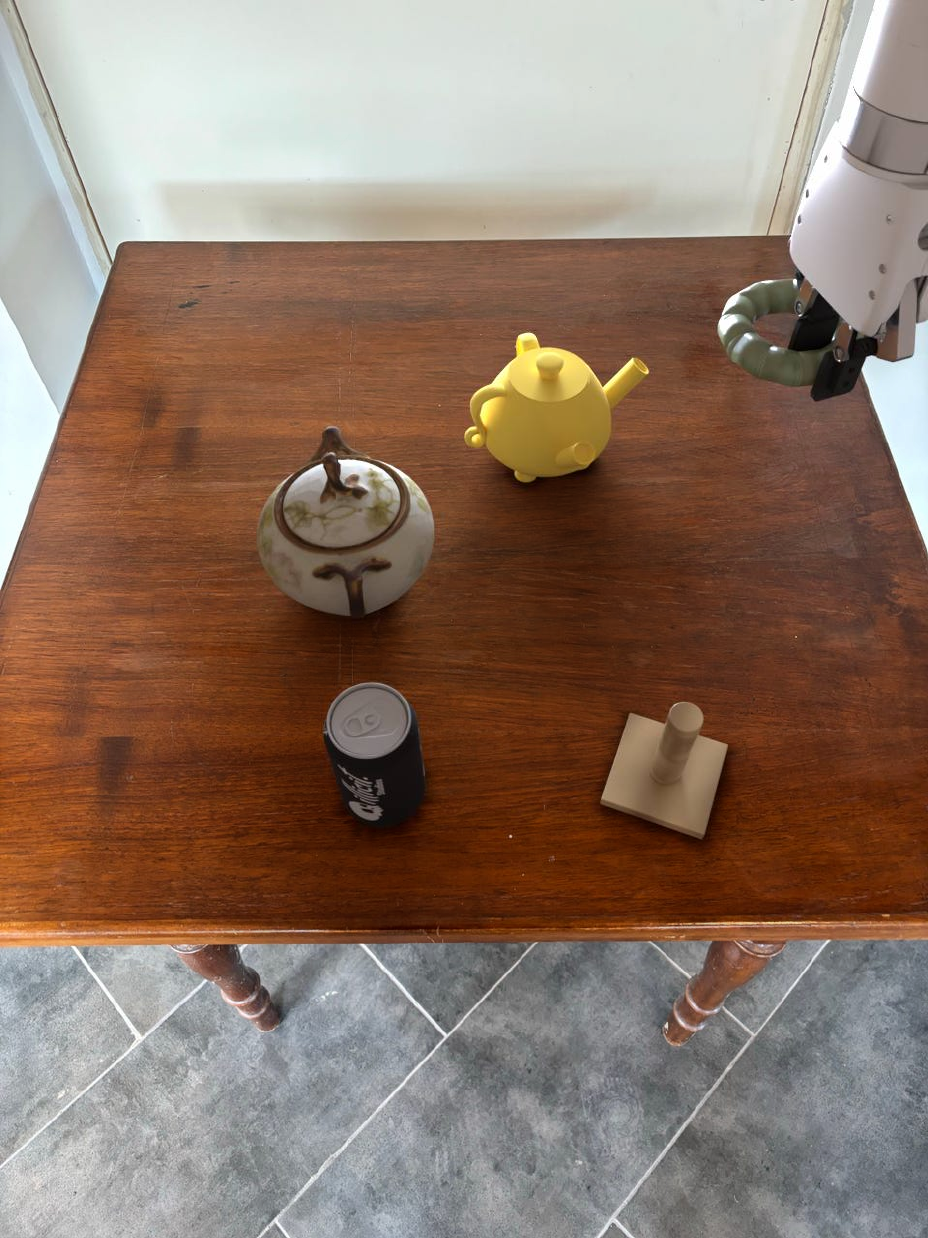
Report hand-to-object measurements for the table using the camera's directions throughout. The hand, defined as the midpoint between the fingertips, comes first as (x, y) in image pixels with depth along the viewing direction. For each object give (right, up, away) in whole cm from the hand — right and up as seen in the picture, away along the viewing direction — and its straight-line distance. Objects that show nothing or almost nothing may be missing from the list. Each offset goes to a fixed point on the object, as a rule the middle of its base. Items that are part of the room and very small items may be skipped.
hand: (817, 376), depth 67 cm
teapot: (-16, -1, +26) cm, 31 cm away
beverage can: (-31, -31, +6) cm, 45 cm away
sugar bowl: (-35, -14, +18) cm, 42 cm away
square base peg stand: (-10, -30, +7) cm, 32 cm away
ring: (-1, +4, +1) cm, 4 cm away
